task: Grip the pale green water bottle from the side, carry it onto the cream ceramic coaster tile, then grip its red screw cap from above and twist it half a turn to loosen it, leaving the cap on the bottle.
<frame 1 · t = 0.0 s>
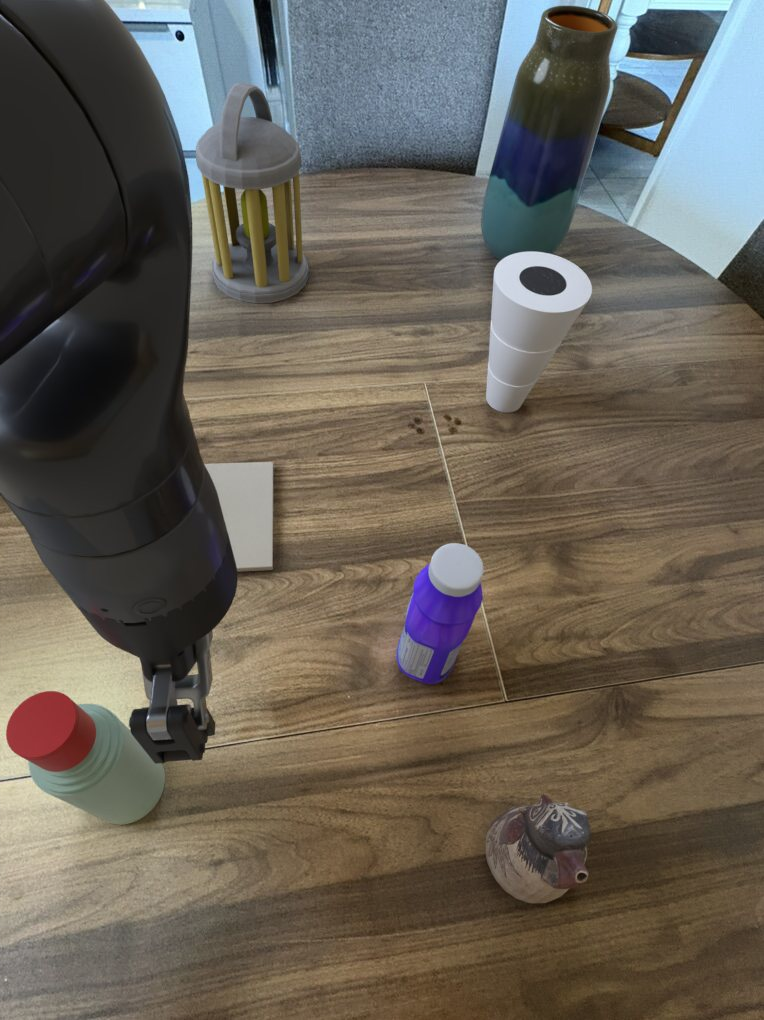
hand: (203, 666, 41), 17 cm above the table, tool pointing down, fingers open, 8 cm apart
lantern: (261, 274, 93), on the table
figurine: (526, 853, 51), on the table
pill bottle: (81, 501, 68), on the table
vase: (515, 253, 101), on the table
water bottle: (128, 785, 52), on the table
coaster: (209, 517, 67), on the table
cap: (44, 725, 37), point 19 cm above the table, screwed on, not yet turned
bottle: (426, 652, 61), on the table
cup: (503, 400, 81), on the table
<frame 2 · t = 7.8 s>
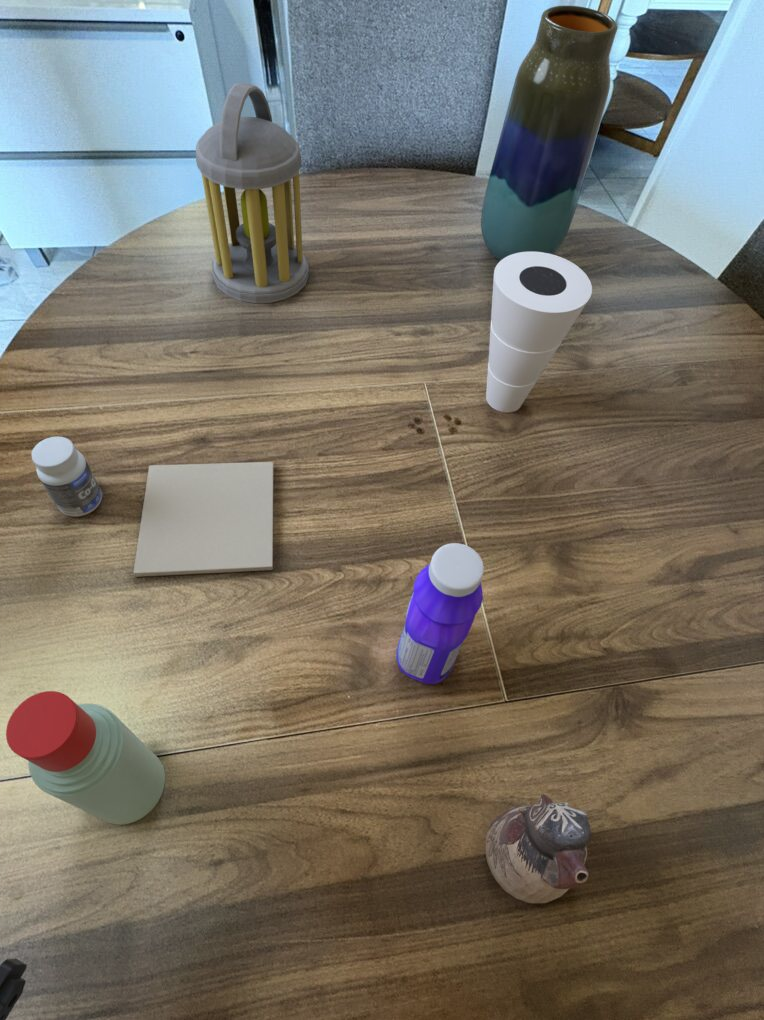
nothing on the table moved.
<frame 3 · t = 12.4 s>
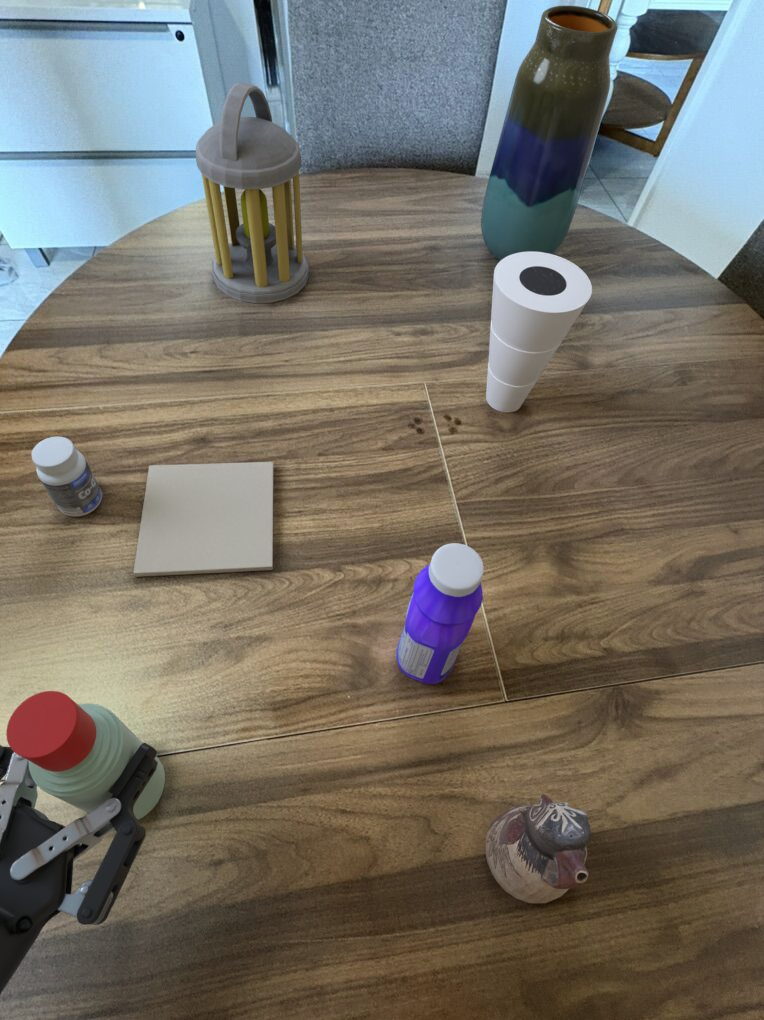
hand: (112, 727, 45), 10 cm above the table, tool horizontal, fingers closed on water bottle, 6 cm apart
water bottle: (128, 785, 52), on the table, touching gripper
everything else where it was.
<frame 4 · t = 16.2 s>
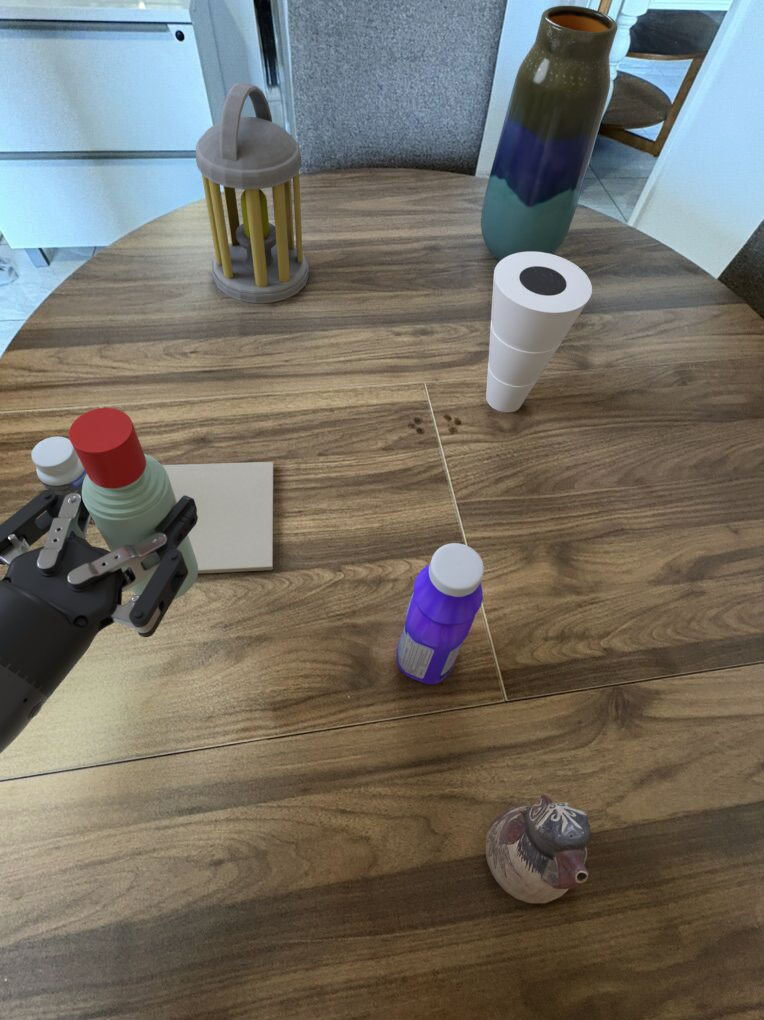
hand: (155, 486, 48), 18 cm above the table, tool horizontal, fingers closed on water bottle, 6 cm apart
water bottle: (163, 572, 55), point 8 cm above the table, touching gripper
cap: (102, 433, 40), point 26 cm above the table, screwed on, not yet turned
everything else where it was.
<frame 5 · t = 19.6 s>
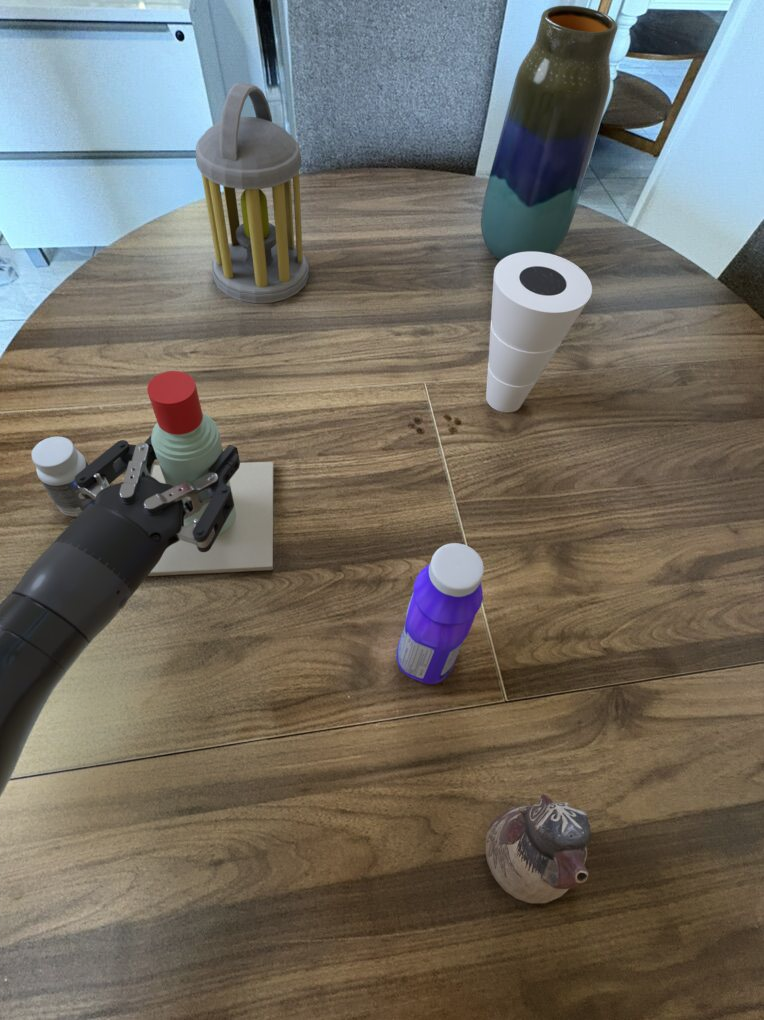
hand: (205, 439, 60), 11 cm above the table, tool horizontal, fingers closed on water bottle, 6 cm apart
water bottle: (207, 515, 67), point 1 cm above the table, touching gripper
cap: (172, 390, 51), point 19 cm above the table, screwed on, not yet turned
everything else where it was.
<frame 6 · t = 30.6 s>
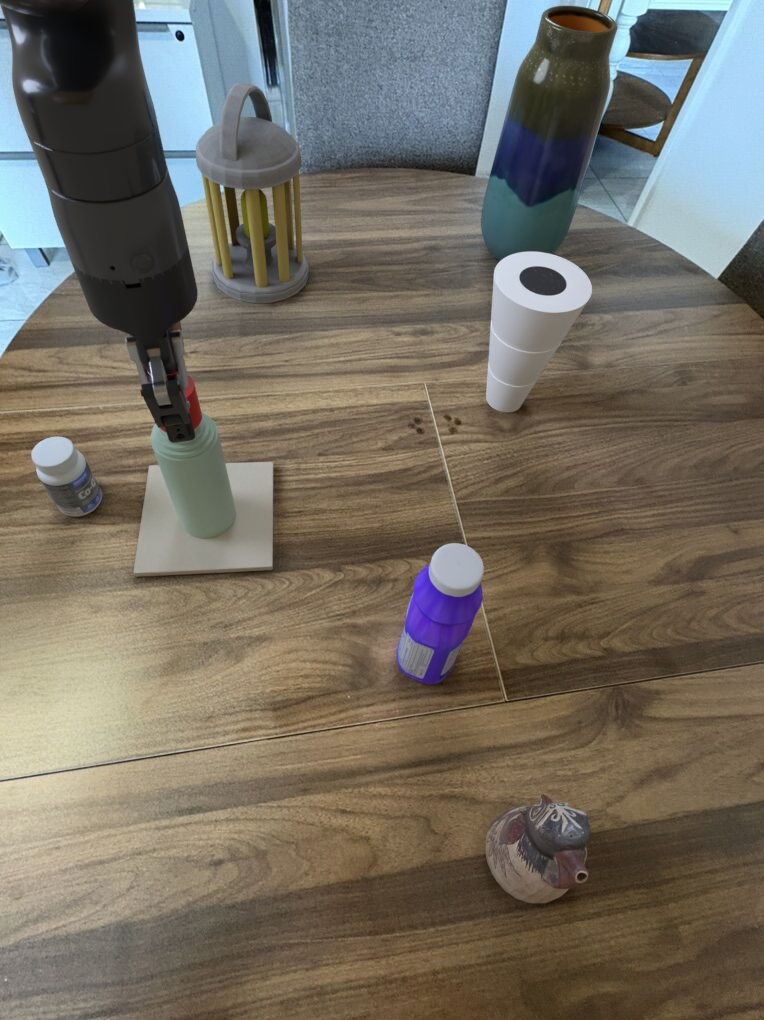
hand: (180, 419, 54), 16 cm above the table, tool pointing down, fingers closed on cap, 4 cm apart
water bottle: (207, 515, 67), point 1 cm above the table, touching coaster
cap: (171, 390, 51), point 19 cm above the table, screwed on, not yet turned, touching gripper
everything else where it was.
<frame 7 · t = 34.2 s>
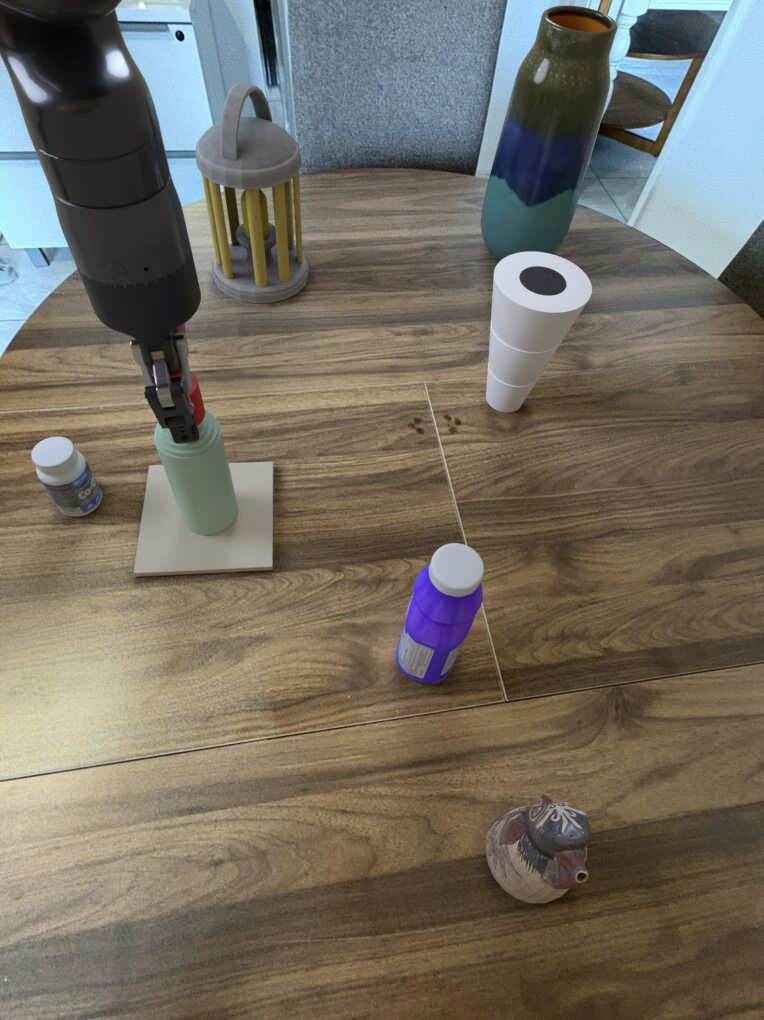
hand: (185, 420, 55), 15 cm above the table, tool pointing down, fingers closed on cap, 3 cm apart
water bottle: (210, 512, 67), point 1 cm above the table, touching coaster, gripper
cap: (174, 387, 51), point 20 cm above the table, turned 176° so far, risen 0.2 cm, still on its thread, touching gripper
everything else where it was.
when the fingers open (16 cm above the table, at t = 36.0 s): cap stays where it is, point 20 cm above the table.
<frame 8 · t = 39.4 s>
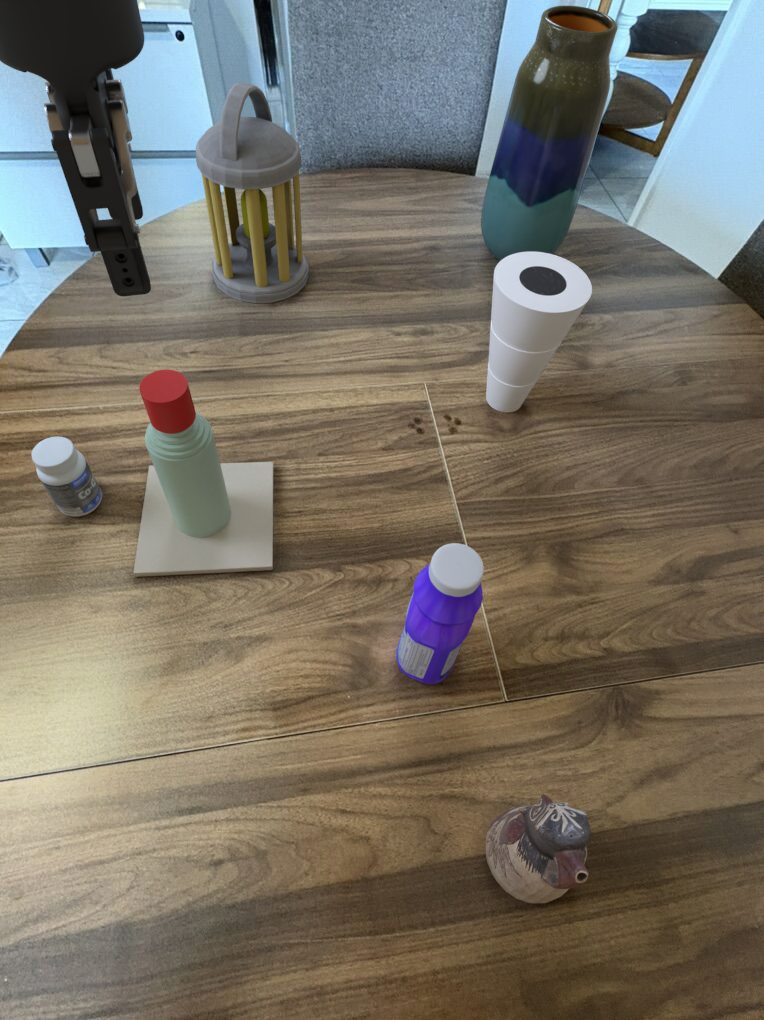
hand: (130, 252, 41), 32 cm above the table, tool pointing down, fingers open, 8 cm apart
water bottle: (203, 514, 67), point 1 cm above the table, touching coaster
cap: (164, 389, 51), point 20 cm above the table, turned 176° so far, risen 0.2 cm, still on its thread
everything else where it was.
at the end: water bottle inside the target area on the coaster (0.5 cm from its centre), point 0.8 cm above the coaster's base; cap turned 0.49 turns (still on its thread); cap is still on its thread (0.49 turns) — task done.
